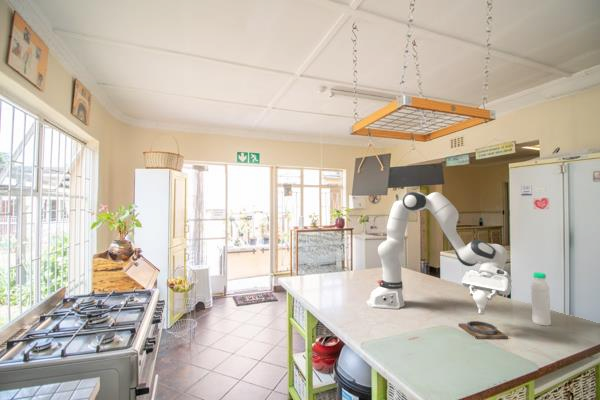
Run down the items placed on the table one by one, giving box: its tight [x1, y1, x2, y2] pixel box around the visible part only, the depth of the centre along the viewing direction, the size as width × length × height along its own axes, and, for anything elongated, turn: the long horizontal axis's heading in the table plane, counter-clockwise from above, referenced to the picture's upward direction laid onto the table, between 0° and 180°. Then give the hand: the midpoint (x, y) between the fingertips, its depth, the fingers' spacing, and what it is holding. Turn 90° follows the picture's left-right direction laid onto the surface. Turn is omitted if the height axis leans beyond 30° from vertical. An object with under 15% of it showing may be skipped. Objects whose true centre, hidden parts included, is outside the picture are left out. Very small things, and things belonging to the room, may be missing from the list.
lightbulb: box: [472, 289, 489, 316], centre depth 131 cm, size 6×6×11 cm
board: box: [458, 322, 509, 340], centre depth 131 cm, size 14×14×1 cm
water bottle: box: [530, 271, 552, 327], centre depth 141 cm, size 7×7×25 cm
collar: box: [467, 320, 498, 335], centre depth 131 cm, size 12×12×2 cm
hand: (480, 297), depth 131 cm, fingers closed on lightbulb, 6 cm apart
